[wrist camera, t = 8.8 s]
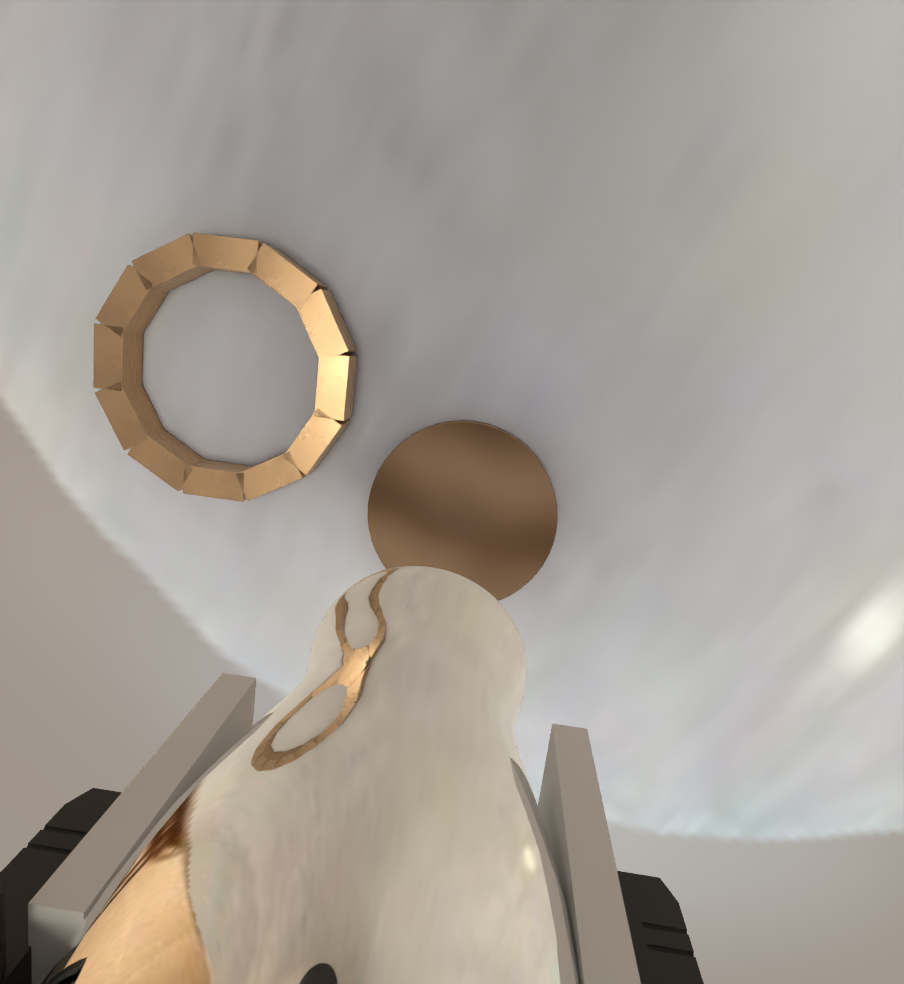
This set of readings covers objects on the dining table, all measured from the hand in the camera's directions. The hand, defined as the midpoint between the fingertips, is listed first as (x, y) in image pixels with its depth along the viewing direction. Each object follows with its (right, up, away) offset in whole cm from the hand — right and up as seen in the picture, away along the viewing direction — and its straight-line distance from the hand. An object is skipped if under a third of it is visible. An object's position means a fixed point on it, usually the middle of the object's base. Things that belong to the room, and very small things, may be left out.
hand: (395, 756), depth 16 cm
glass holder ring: (-10, +12, +22) cm, 27 cm away
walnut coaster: (+2, +5, +22) cm, 23 cm away
